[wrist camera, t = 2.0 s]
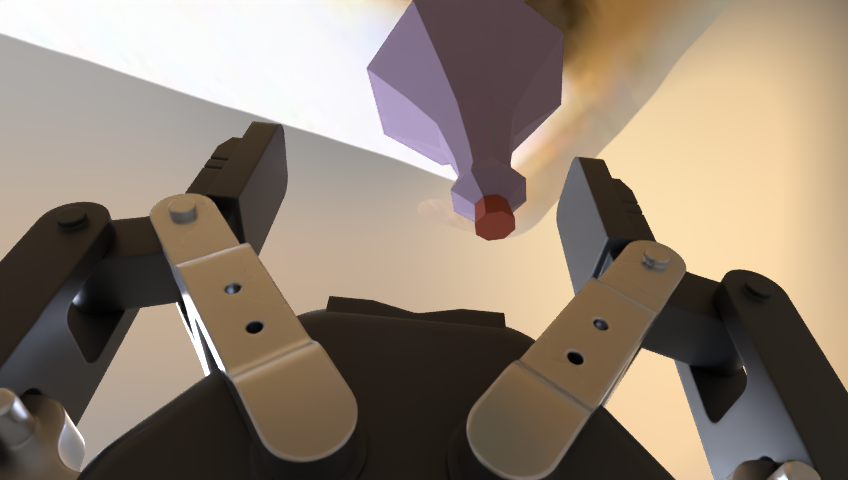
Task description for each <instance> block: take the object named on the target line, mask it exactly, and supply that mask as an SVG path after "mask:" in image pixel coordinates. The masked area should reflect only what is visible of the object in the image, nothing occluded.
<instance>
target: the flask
mask: <svg viewBox="0 0 848 480" xmlns="http://www.w3.org/2000/svg"><path fill="white" fill-rule="evenodd" d="M563 43H564V33H563V32H562V31H560V30H559V29H558V28H557V27H555V26H554V25H553V24H552V23H550V22H549V21H548V20H547V19H545V18H544V17H543V16H542V15H540V14H539V13H538V12H537V11H535V10H534V9H533V8H532V7H530V6H529V5H528V4H527V3H525V2H524V1H523V0H413V1H412V2H411V4H410V5H409V7H408V8H407V10H406V11H405V13H404V14H403V16H402V17H401V18H400V20H399V21H398V23H397V24H396V26H395V27H394V29H393V30H392V32H391V33H390V35H389V36H388V38H387V39H386V40H385V42H384V43H383V45H382V46H381V48H380V49H379V51H378V52H377V54H376V55H375V57H374V58H373V60H372V61H371V62H370V64H369V65H368V67H367V71H368V75H369V79H370V82H371V86H372V90H373V94H374V97H375V101H376V105H377V109H378V112H379V116H380V120H381V124H382V127H383V131H384V134H385V135H387V136H389V137H391V138H393V139H395V140H396V141H398V142H400V143H402V144H404V145H406V146H407V147H409V148H411V149H413V150H415V151H417V152H418V153H420V154H422V155H424V156H426V157H428V158H429V159H431V160H433V161H435V162H437V163H439V164H440V165H447V164H451V166H452V167H453V169H454V171H455V172H456V174H457V176H458V179H457V180H456V182H455V184H454V185H453V187H452V188H451V195H452V201H453V207H454V212H456V213H458V214H460V215H462V216H464V217H466V218H468V219H470V220H472V221H474V222H475V229H476V235H478V236H480V237H482V238H484V239H486V240H489V241H490V240H497V239H504V238H505V237H507V236H508V235H509V234H510V233H511V232H512V231H514V230H515V217H514V215H513V212H514V211H515V210H516V209H517V208H519V207H520V206H521V205H522V204H523V203H524V202H525V201H526V178H525V177H523V176H522V175H521V174H519V173H518V172H517V171H515V170H514V169H512V168H511V164H510V163H511V156H512V152H513V151H514V150H515V149H516V148H517V147H518V146H519V145H520V144H521V143H522V142H523V141H524V140H526V139H527V138H528V137H529V136H530V135H531V134H532V133H533V132H534V131H535V130H536V129H537V128H538V127H539V126H540V125H541V124H542V123H543V122H544V121H545V120H546V119H547V118H548V117H549V116H550V115H551V114H552V113H553V112H554V111H555V110H556V109H557V108H558V107H559V106H560V105H561V93H562V68H563Z"/></svg>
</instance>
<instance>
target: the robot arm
mask: <svg viewBox="0 0 848 480" xmlns="http://www.w3.org/2000/svg"><path fill="white" fill-rule="evenodd" d="M287 178H288V174H287V161H286V149H285V139H284V129H283V126H282V125H281V124H274V123H264V122H255V121H254V122H252V123H251V125H250V126H249V128H248V130H247V131H246V133H245V134H244V136H243V137H242V138H235V137H232V138H231V139H229V140H227V141H226V142H224V143H222V144H221V145H219V146H218V147H217V149H216V150H215V152H214V153H213V154H212V156H211V159H209V160H208V161H207V163H206V164H205V167H204V168H202V170H201V171H200V173H199V174H198V176H197V177H196V178H195V180H194V181H193V183H192V184H191V186H190V187H189V188H188V190H187V191H186V193H185V194H179V195H174V196H171V197H168V198H165V199H163V200H161V201H160V202H158V203H157V204H156V205H155V206H154V207H153V208H152V210H151V212H150V216H147V217H140V218H130V219H120V220H112V219H111V217H110V214H109V212H108V210H107V209H106V208H105V207H104V206H103V205H100V204H97V203H92V202H76V203H70V204H66V205H62V206H59V207H57V208H54V209H52V210H50V211H49V212H47V213H46V214H44V215H43V216H42V217H41V218H39V220H38V221H37V222H36V223H35V224H34V225H33V226H32V227H31V228H30V229H29V231H28V232H27V233H26V234H25V235H24V236H23V237H22V239H20V241H19V242H18V243H17V244H16V245H15V246H14V247H13V248H12V249H11V251H10V252H9V253H8V254H7V255H6V256H5V257H4V258H3V259H2V260H1V262H0V480H675V479H674V478H673V477H672V475H671V474H670V473H669V472H668V471H666V470H665V468H664V467H662V465H661V464H659V462H658V461H657V460H656V459H655V458H654V457H653V456H652V455H651V454H650V453H649V452H648V451H647V450H646V449H645V448H644V447H643V446H642V445H641V444H640V443H639V442H638V441H637V440H636V439H635V438H634V437H633V436H632V435H631V434H630V433H629V432H628V431H627V430H626V429H625V428H624V427H623V426H622V425H621V424H620V423H619V422H618V421H617V420H616V419H615V418H614V417H613V416H612V415H611V414H610V413H609V412H608V411H607V410H606V409H605V408H604V407H605V406H606V404H607V402H608V401H609V399H610V397H611V396H612V394H613V393H614V391H615V389H616V388H617V386H618V385H619V383H620V382H621V380H622V378H623V377H624V375H625V374H626V372H627V371H628V369H629V367H630V366H631V364H632V363H633V361H634V360H635V358H636V357H637V355H638V353H639V352H640V350H641V349H642V348H644V349H646V350H649V351H652V352H655V353H658V354H660V355H663V356H666V357H669V358H672V359H674V360H675V364H676V367H677V370H678V373H679V376H680V379H681V382H682V385H683V387H684V391H685V394H686V397H687V400H688V403H689V406H690V409H691V412H692V415H693V418H694V421H695V423H696V426H697V430H698V433H699V436H700V439H701V442H702V445H703V448H704V450H705V454H706V457H707V460H708V462H709V466H710V469H711V472H712V475H713V477H714V480H848V392H847V391H846V389H845V387H844V386H843V384H842V383H841V381H840V379H839V378H838V376H837V375H836V373H835V371H834V370H833V368H832V366H831V365H830V363H829V362H828V360H827V358H826V357H825V355H824V353H823V352H822V350H821V349H820V347H819V345H818V344H817V342H816V341H815V339H814V337H813V336H812V334H811V333H810V331H809V329H808V328H807V326H806V324H805V323H804V321H803V319H802V318H801V316H800V315H799V313H798V311H797V310H796V308H795V307H794V305H793V303H792V302H791V300H790V298H789V297H788V295H787V294H786V292H785V291H784V290H783V289H782V288H781V287H780V286H779V285H778V284H776V283H775V282H773V281H772V280H770V279H769V278H767V277H765V276H763V275H761V274H758V273H755V272H752V271H748V270H732V271H729V272H728V273H726V275H725V276H724V278H723V279H722V281H721V282H717V281H714V280H710V279H707V278H704V277H701V276H698V275H695V274H691V273H689V272H687V271H686V265H685V262H684V260H683V259H682V258H681V257H680V256H679V254H677V253H676V252H675V251H673V250H672V249H671V248H669V247H667V246H665V245H663V244H660V243H657V242H656V240H655V238H654V236H653V234H652V231H651V230H650V227H649V225H648V223H647V221H646V219H645V217H644V215H642V211H641V209H640V206H639V205H637V203H638V202H637V200H636V198H635V196H634V194H633V192H632V190H631V189H630V188H629V187H628V186H626V185H625V184H624V183H623V182H622V181H621V180H620V179H614V178H612V177H611V175H610V173H609V170H608V168H607V166H606V163H605V161H604V160H602V159H593V158H584V157H575V158H574V159H573V161H572V163H571V166H570V169H569V172H568V175H567V178H566V181H565V184H564V188H563V191H562V194H561V197H560V200H559V203H558V208H557V226H558V230H559V234H560V238H561V242H562V246H563V250H564V254H565V258H566V261H567V266H568V269H569V273H570V277H571V281H572V285H573V289H574V293H575V297H574V298H573V299H572V300H571V302H570V303H569V304H568V305H567V306H566V307H565V308H564V309H563V311H562V312H561V313H560V314H559V315H558V316H557V317H556V319H555V320H554V321H553V322H552V323H551V324H550V326H549V327H548V328H547V329H546V330H545V331H544V332H543V333H542V335H541V336H540V337H539V338H538V339H537V340H536V341H535V340H534V339H532V338H531V337H529V336H527V335H525V334H523V333H521V332H519V331H517V330H514V329H512V328H509V327H506V325H505V317H504V313H498V312H487V311H477V310H467V309H456V310H447V311H437V312H427V313H413V312H410V311H406V310H403V309H400V308H397V307H393V306H390V305H387V304H383V303H380V302H377V301H374V300H365V299H354V298H343V297H334V296H330V297H329V300H328V304H327V308H326V309H322V310H316V311H311V312H307V313H304V314H301V315H298V316H296V315H295V314H294V312H293V310H292V309H291V307H290V306H289V304H288V303H287V301H286V300H285V298H284V297H283V295H282V293H281V292H280V290H279V289H278V287H277V286H276V284H275V282H274V281H273V279H272V278H271V276H270V275H269V273H268V272H267V270H266V268H265V267H264V265H263V264H262V262H261V261H260V259H259V257H258V256H259V254H260V251H261V249H262V247H263V244H264V242H265V240H266V237H267V235H268V233H269V231H270V228H271V226H272V224H273V221H274V219H275V217H276V215H277V212H278V210H279V208H280V205H281V203H282V201H283V199H284V196H285V193H286V189H287V180H288V179H287ZM170 303H176V305H177V307H178V310H179V312H180V314H181V316H182V319H183V321H184V323H185V325H186V328H187V330H188V332H189V335H190V337H191V339H192V342H193V344H194V346H195V348H196V351H197V353H198V355H199V357H200V360H201V363H202V365H203V368H204V371H205V374H206V377H204V378H203V379H201V380H200V381H199V382H197V383H196V384H194V385H193V386H192V387H190V388H189V389H187V390H186V391H184V392H183V393H182V394H180V395H179V396H177V397H176V398H174V399H173V400H172V401H170V402H169V403H167V404H166V405H164V406H163V407H162V408H160V409H159V410H157V411H156V412H155V413H153V414H152V415H151V416H149V417H148V418H146V419H145V420H143V421H142V422H140V423H139V424H137V425H136V426H135V427H134V428H132V429H130V430H129V431H128V432H126V433H125V434H123V435H122V436H121V437H119V438H118V439H116V440H115V441H113V442H112V443H111V444H110V445H108V446H107V447H106V448H104V449H103V450H102V451H101V452H100V453H99V454H98V455H97V456H96V457H95V458H94V459H93V460H92V461H90V463H89V464H88V465H87V466H86V467H85V469H84V470H83V471H82V472H80V467H81V464H82V461H83V458H84V454H85V444H84V440H83V438H82V437H81V435H80V433H79V432H78V430H77V429H76V426H77V424H78V422H79V420H80V419H81V417H82V415H83V413H84V411H85V409H86V408H87V406H88V404H89V402H90V400H91V398H92V396H93V395H94V393H95V391H96V389H97V387H98V385H99V383H100V382H101V380H102V378H103V376H104V374H105V372H106V371H107V369H108V367H109V365H110V363H111V361H112V359H113V358H114V356H115V354H116V352H117V350H118V348H119V346H120V345H121V343H122V341H123V339H124V337H125V335H126V334H127V332H128V330H129V328H130V326H131V324H132V322H133V321H134V319H135V317H136V315H137V313H138V311H139V309H140V308H142V307H149V306H156V305H163V304H170ZM743 365H744V367H745V370H746V373H747V375H746V373H745V371H744V369H743Z"/></svg>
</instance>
